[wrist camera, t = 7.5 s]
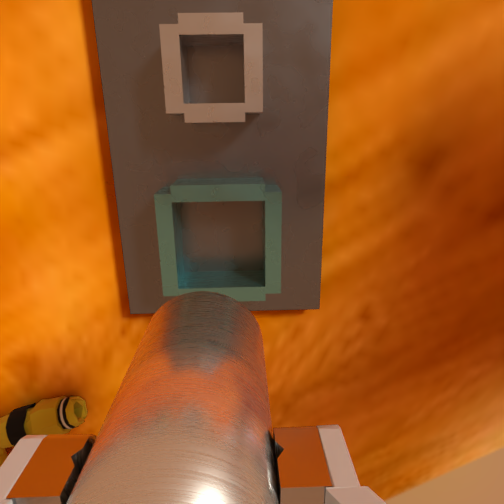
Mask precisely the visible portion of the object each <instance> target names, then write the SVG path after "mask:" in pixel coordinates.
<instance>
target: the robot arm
mask: <svg viewBox="0 0 504 504" xmlns="http://www.w3.org/2000/svg"><path fill="white" fill-rule="evenodd" d="M95 440H96V436H95V435H93V434H49V435H26V436H24V437H23V438H21V439H20V440H19V441H18V443H17V444H16V445H15V447H14V448H13V450H12V451H11V452H10V454H9V455H8V457H7V458H6V460H5V461H4V462H3V464H2V465H1V467H0V504H66V503H67V501H68V499H69V497H70V495H71V492H72V490H73V488H74V486H75V484H76V481H77V479H78V477H79V475H80V473H81V471H82V468H83V466H84V464H85V462H86V460H87V458H88V455H89V453H90V451H91V449H92V447H93V444H94V442H95ZM273 446H274V457H275V464H276V472H277V485H278V495H279V504H387V503H386V502H384V501H383V500H382V499H381V498H380V497H379V496H378V495H377V494H376V493H374V492H373V491H372V490H371V489H370V488H369V487H368V486H360V484H359V481H358V478H357V475H356V472H355V469H354V466H353V463H352V460H351V457H350V454H349V451H348V448H347V445H346V442H345V439H344V436H343V433H342V430H341V428H340V427H339V426H338V425H321V426H305V427H281V428H273Z"/></svg>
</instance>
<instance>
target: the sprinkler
mask: <svg viewBox="0 0 504 504" xmlns="http://www.w3.org/2000/svg"><path fill="white" fill-rule="evenodd" d="M87 412H88V411H87V407H86V403H85V400H84V399H82V398H81V397H79V396H70V397H66V396H61V397H56V398H51V399H42V400H41V401H40V402H39V403H37V404H35V403H34V404H31V405H27V406H24V407H20V408H17V409H15V410H13V411H12V412H11V413H10V414H8V415H6V416H3V417H1V418H0V467H1V465H2V464H3V462H4V461H5V460H6V458H7V457H8V456H7V453H6V450H5V448H8V447H13V446H15V445H16V444H17V443H18V441H19V440H20V439H21V438H23V437H24V436H26V435H49V434H66V433H69V432H70V430H71V429H72V428H75V427H78V426H79V425H80V424H82V423H83V422H85V421H84V419H85V417H86V416H87Z"/></svg>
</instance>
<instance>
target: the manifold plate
mask: <svg viewBox="0 0 504 504" xmlns="http://www.w3.org/2000/svg"><path fill="white" fill-rule="evenodd" d="M332 6H333V0H92V7H93V15H94V23H95V32H96V40H97V48H98V56H99V64H100V72H101V80H102V88H103V96H104V104H105V112H106V120H107V128H108V136H109V144H110V152H111V160H112V169H113V177H114V185H115V193H116V201H117V209H118V217H119V225H120V233H121V241H122V249H123V257H124V265H125V273H126V281H127V289H128V298H129V306H130V314H146V313H156V312H157V310H158V309H159V308H160V307H161V306H163V305H164V304H165V303H166V302H168V301H169V300H171V299H173V298H175V297H177V296H179V295H182V294H185V293H190V292H197V291H210V292H216V293H220V294H224V295H226V296H229V297H231V298H233V299H235V300H237V301H238V302H240V303H241V304H242V305H244V306H245V307H246V308H247V309H248V310H249V311H260V310H298V309H319V306H320V283H321V260H322V237H323V214H324V191H325V168H326V145H327V121H328V98H329V75H330V52H331V29H332Z"/></svg>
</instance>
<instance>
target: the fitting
mask: <svg viewBox="0 0 504 504" xmlns="http://www.w3.org/2000/svg"><path fill="white" fill-rule="evenodd" d="M66 504H279V495H278V485H277V472H276V464H275V457H274V446H273V434H272V424H271V415H270V405H269V396H268V386H267V377H266V367H265V358H264V348H263V339H262V333H261V329H260V327H259V324H258V322H257V321H256V319H255V317H254V316H253V315H252V313H251V312H250V311H249V310H248V309H247V308H246V307H245V306H244V305H242V304H241V303H240V302H238V301H237V300H235V299H233V298H231V297H229V296H226V295H224V294H220V293H216V292H210V291H197V292H190V293H185V294H182V295H179V296H177V297H175V298H173V299H171V300H169V301H168V302H166V303H165V304H164V305H163V306H161V307H160V308H159V309H158V310H157V312H156V313H155V314H154V315H153V317H152V319H151V320H150V322H149V325H148V327H147V329H146V331H145V333H144V336H143V338H142V340H141V342H140V344H139V346H138V349H137V351H136V353H135V355H134V357H133V360H132V362H131V364H130V366H129V368H128V370H127V373H126V375H125V377H124V379H123V381H122V383H121V386H120V388H119V390H118V392H117V394H116V397H115V399H114V401H113V403H112V405H111V407H110V410H109V412H108V414H107V416H106V418H105V420H104V423H103V425H102V427H101V429H100V431H99V434H98V436H97V438H96V440H95V442H94V444H93V447H92V449H91V451H90V453H89V455H88V458H87V460H86V462H85V464H84V466H83V468H82V471H81V473H80V475H79V477H78V479H77V481H76V484H75V486H74V488H73V490H72V492H71V495H70V497H69V499H68V501H67V503H66Z"/></svg>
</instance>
